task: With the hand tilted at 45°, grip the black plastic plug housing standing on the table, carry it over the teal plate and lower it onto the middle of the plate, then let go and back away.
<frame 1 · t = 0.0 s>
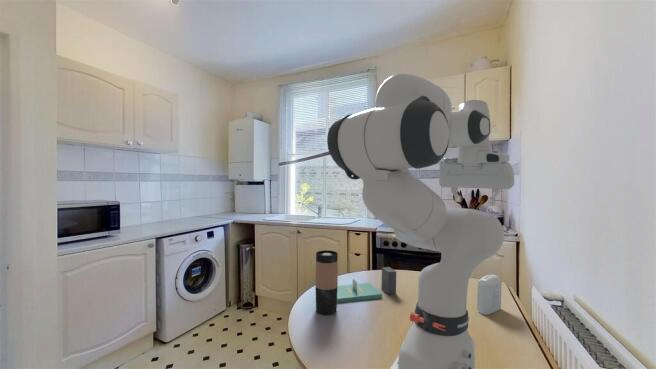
hand: (474, 202, 86), 39 cm above the table, tool pointing down, fingers open, 8 cm apart
travel mug: (326, 310, 98), on the table
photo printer: (489, 311, 99), on the table
plug housing: (388, 291, 115), on the table
teal plate: (354, 293, 112), on the table
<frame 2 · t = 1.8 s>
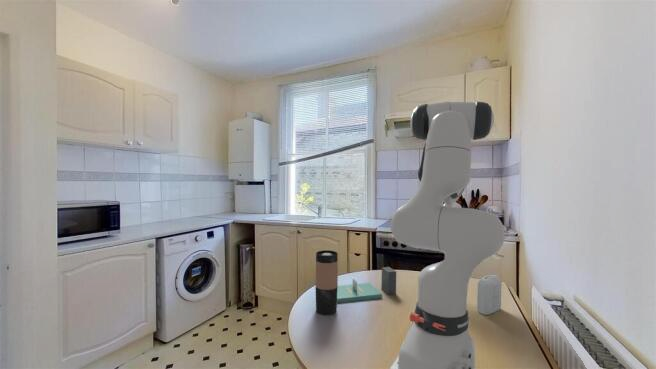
hand: (417, 230, 118), 24 cm above the table, tool tilted 45°, fingers open, 8 cm apart
nothing on the table moved.
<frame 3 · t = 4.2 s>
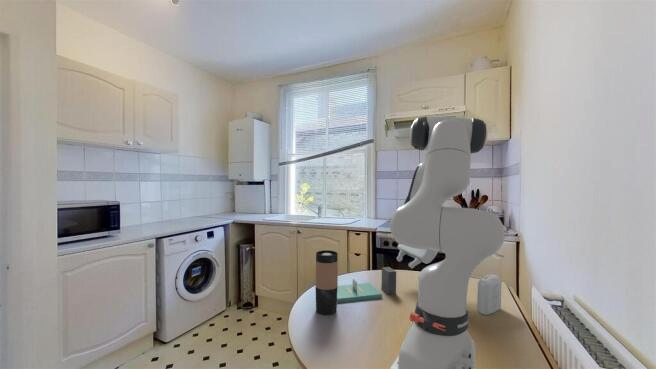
hand: (403, 263, 117), 11 cm above the table, tool tilted 45°, fingers open, 8 cm apart
nothing on the table moved.
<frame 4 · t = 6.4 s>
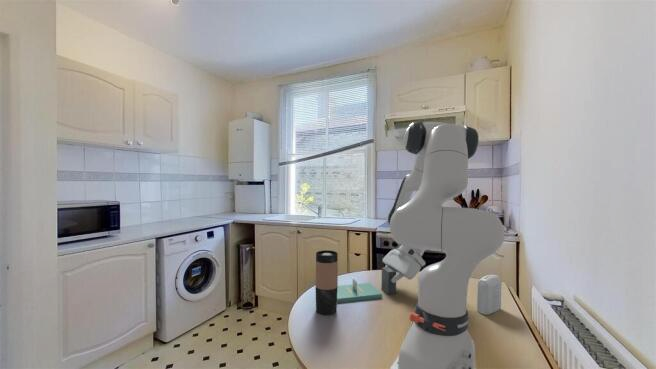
hand: (387, 278, 115), 5 cm above the table, tool tilted 45°, fingers closed on plug housing, 6 cm apart
plug housing: (388, 291, 115), on the table, touching gripper
everything else where it was.
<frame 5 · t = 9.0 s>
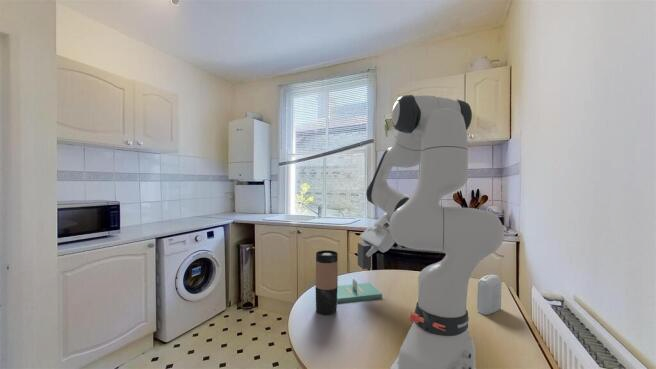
hand: (362, 253, 113), 16 cm above the table, tool tilted 45°, fingers closed on plug housing, 6 cm apart
plug housing: (364, 266, 113), point 11 cm above the table, touching gripper
everything else where it was.
when the fingers open (8 cm above the table, at t = 11.9 s): plug housing stays where it is, resting on teal plate.
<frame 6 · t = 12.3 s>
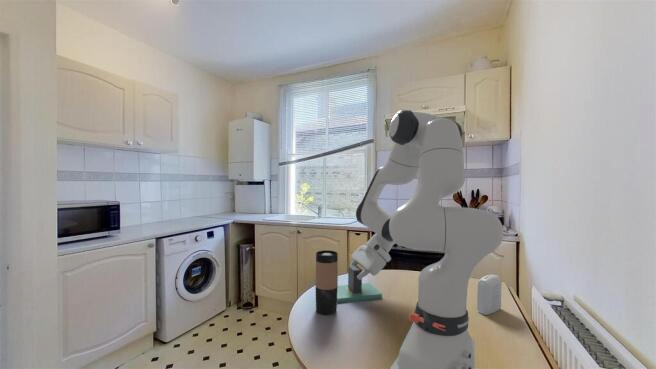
hand: (353, 274, 112), 8 cm above the table, tool tilted 45°, fingers open, 8 cm apart
plug housing: (354, 290, 112), point 1 cm above the table, touching teal plate
everything else where it was.
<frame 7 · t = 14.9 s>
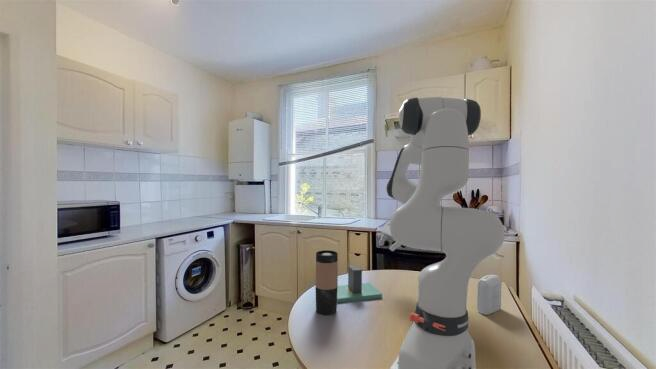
hand: (385, 247, 115), 18 cm above the table, tool tilted 45°, fingers open, 8 cm apart
nothing on the table moved.
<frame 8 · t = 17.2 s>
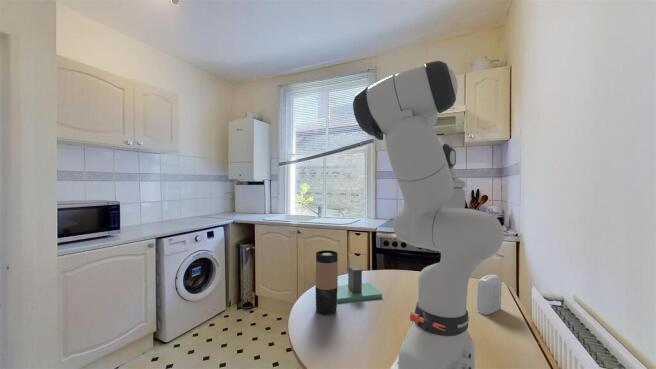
hand: (440, 220, 102), 31 cm above the table, tool pointing down, fingers open, 8 cm apart
nothing on the table moved.
at the end: plug housing 0.0 cm off-centre on the teal plate, point 1.5 cm above the teal plate's base; plug housing tilted 0°; the gripper is holding nothing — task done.
